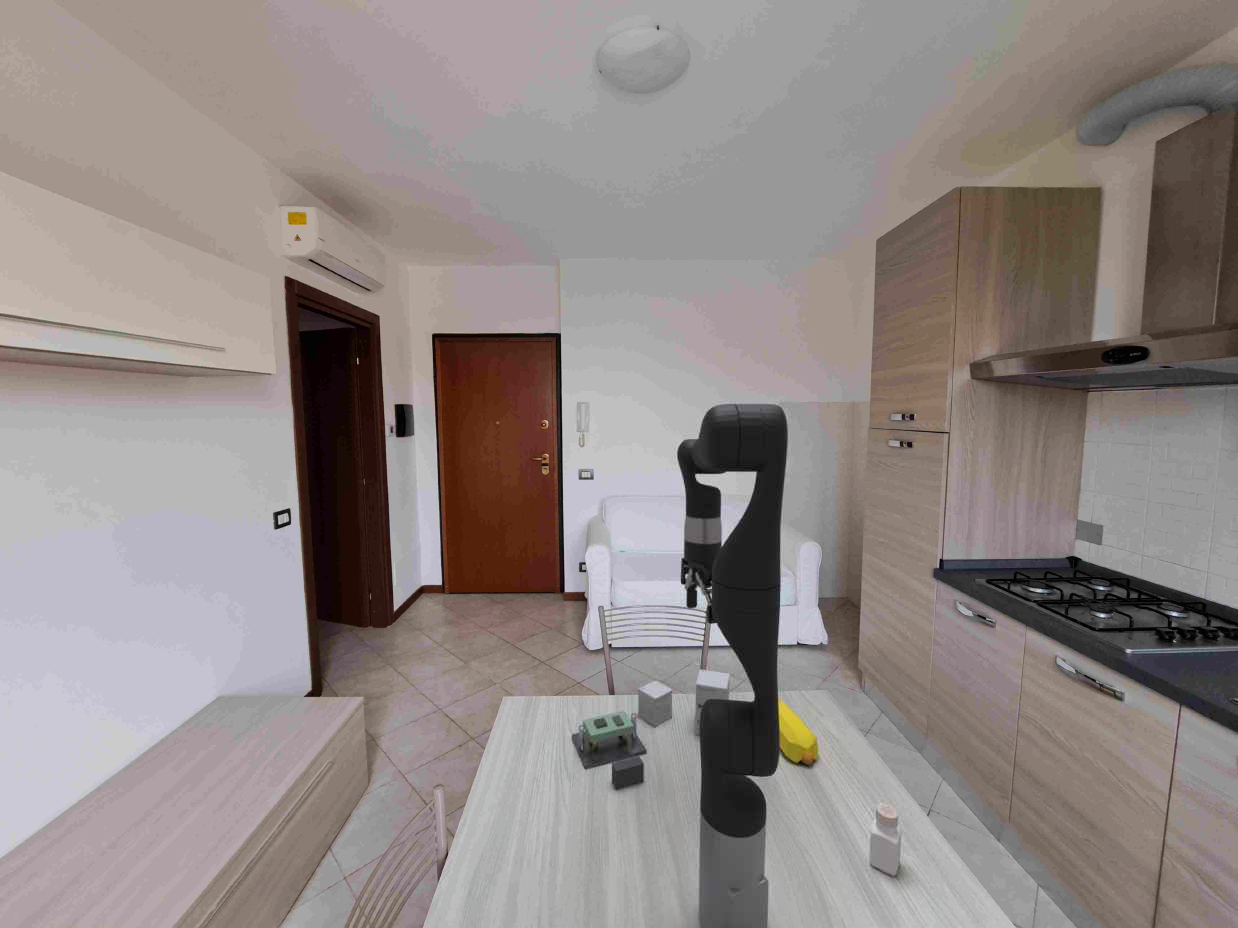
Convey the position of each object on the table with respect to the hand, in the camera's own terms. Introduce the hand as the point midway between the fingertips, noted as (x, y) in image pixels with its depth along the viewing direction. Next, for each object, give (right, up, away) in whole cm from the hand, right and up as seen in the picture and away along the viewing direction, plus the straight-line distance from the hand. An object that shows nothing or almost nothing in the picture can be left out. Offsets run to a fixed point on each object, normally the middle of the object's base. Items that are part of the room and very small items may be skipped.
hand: (701, 614), depth 101 cm
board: (-19, -29, +9) cm, 36 cm away
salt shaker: (+27, -35, -20) cm, 49 cm away
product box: (-8, -32, +20) cm, 38 cm away
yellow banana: (+21, -33, +11) cm, 40 cm away
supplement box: (+5, -32, +16) cm, 36 cm away
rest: (-15, -33, -1) cm, 37 cm away
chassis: (-19, -32, +10) cm, 39 cm away
